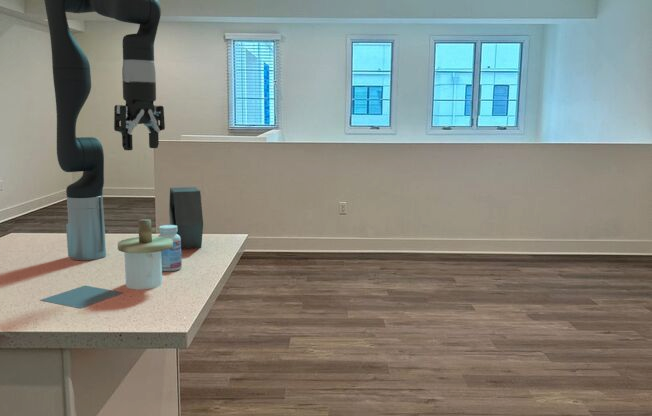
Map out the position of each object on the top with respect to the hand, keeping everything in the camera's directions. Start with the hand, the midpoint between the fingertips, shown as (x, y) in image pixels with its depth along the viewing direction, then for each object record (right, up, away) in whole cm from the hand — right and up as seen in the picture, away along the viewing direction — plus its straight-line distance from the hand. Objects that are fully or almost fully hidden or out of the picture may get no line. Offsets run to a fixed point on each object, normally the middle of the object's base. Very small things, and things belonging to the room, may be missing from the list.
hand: (141, 149), depth 141 cm
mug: (+4, -33, -7) cm, 34 cm away
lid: (+4, -23, -9) cm, 25 cm away
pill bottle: (+4, -30, +10) cm, 32 cm away
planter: (+2, -26, +38) cm, 46 cm away
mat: (-8, -34, -15) cm, 38 cm away
